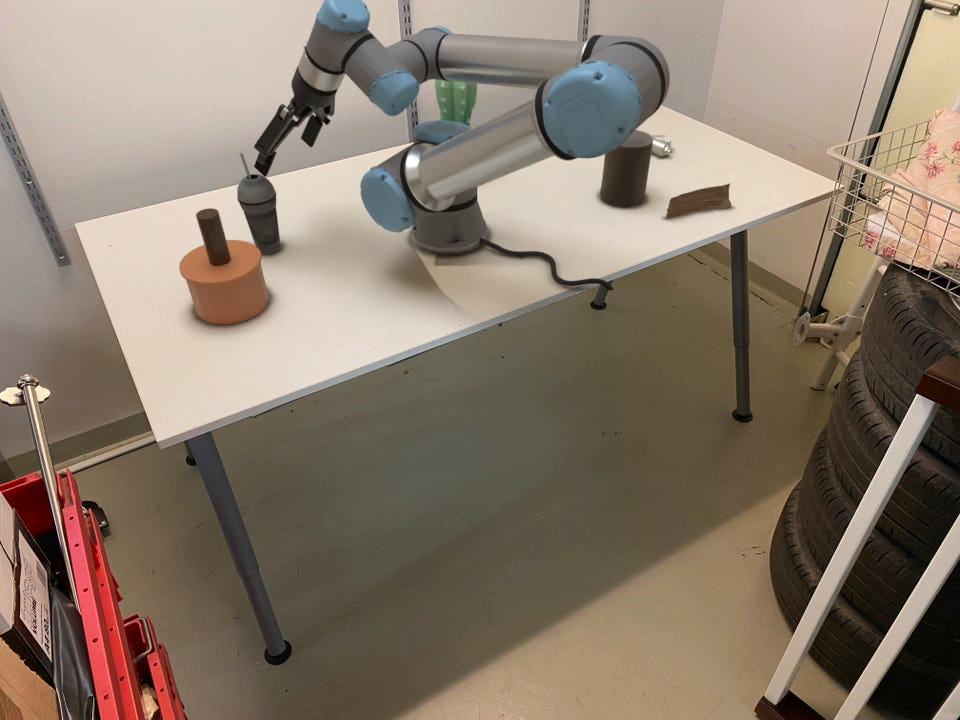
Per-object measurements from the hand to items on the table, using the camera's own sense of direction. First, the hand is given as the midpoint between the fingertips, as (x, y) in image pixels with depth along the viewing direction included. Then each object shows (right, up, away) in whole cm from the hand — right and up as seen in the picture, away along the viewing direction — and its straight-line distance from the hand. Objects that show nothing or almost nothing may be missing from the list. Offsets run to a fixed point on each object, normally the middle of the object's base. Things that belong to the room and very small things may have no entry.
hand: (284, 156), depth 140 cm
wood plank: (+85, -8, +14) cm, 86 cm away
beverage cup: (-4, -17, +4) cm, 18 cm away
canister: (-7, -29, -10) cm, 32 cm away
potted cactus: (+33, +4, +29) cm, 44 cm away
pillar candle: (+69, -4, +19) cm, 72 cm away
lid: (-7, -23, -16) cm, 29 cm away
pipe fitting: (+80, +11, +37) cm, 89 cm away
